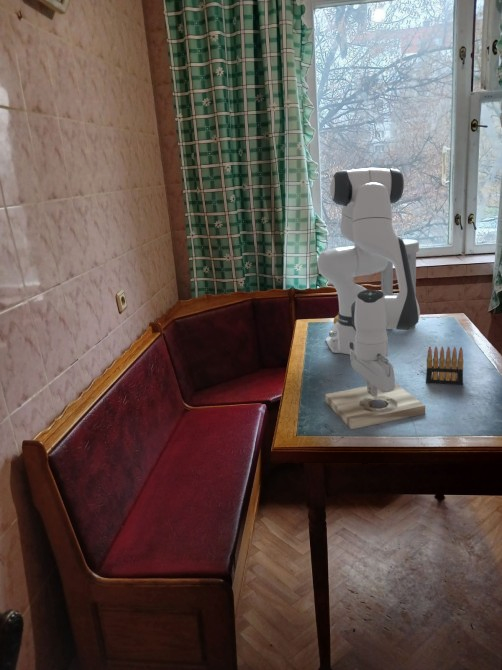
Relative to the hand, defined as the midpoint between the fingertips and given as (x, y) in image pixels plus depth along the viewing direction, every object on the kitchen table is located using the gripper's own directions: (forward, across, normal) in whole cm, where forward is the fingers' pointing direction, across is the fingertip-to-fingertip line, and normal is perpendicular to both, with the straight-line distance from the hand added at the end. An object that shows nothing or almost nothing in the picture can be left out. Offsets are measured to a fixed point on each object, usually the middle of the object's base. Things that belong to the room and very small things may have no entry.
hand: (372, 394), depth 142 cm
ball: (+2, -4, 0) cm, 5 cm away
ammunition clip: (+4, +6, -27) cm, 28 cm away
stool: (+4, +64, -44) cm, 77 cm away
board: (+4, 0, 0) cm, 4 cm away
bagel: (+4, +72, -24) cm, 76 cm away
